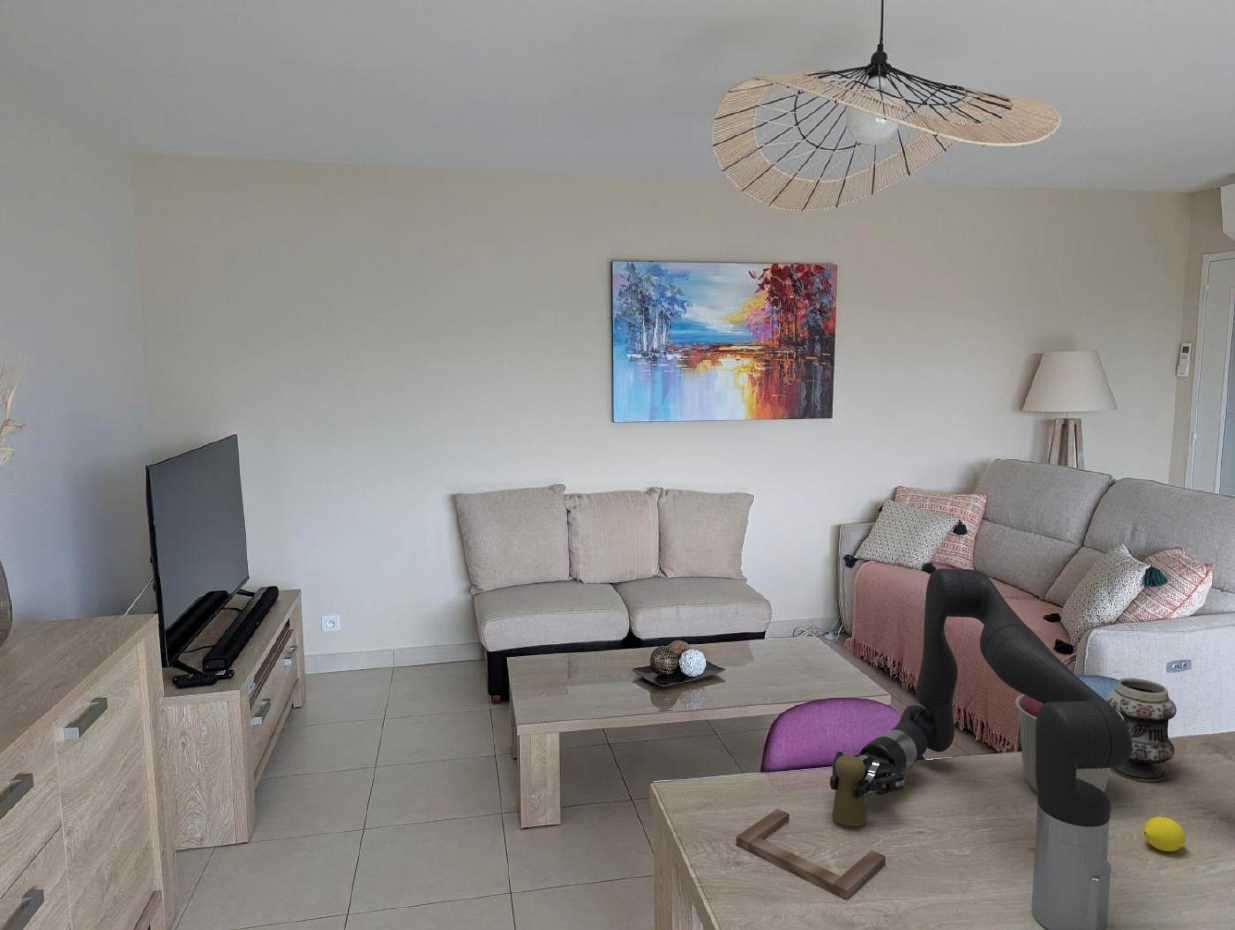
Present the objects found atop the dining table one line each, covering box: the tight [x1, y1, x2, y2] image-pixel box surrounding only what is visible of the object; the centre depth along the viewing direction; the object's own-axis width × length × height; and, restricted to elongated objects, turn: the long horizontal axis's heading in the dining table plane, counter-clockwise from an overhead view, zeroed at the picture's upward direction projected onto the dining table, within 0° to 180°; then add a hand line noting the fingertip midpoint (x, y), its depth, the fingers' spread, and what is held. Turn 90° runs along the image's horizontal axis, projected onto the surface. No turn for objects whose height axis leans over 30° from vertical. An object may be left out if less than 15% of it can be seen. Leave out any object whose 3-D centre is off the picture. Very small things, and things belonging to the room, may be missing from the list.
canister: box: [1015, 693, 1124, 793], centre depth 155 cm, size 18×18×21 cm
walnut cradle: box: [735, 808, 886, 900], centre depth 136 cm, size 21×12×2 cm, turn 45°
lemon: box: [1143, 816, 1186, 853], centre depth 137 cm, size 7×5×5 cm
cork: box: [831, 754, 868, 827], centre depth 145 cm, size 6×6×11 cm
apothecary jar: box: [1106, 677, 1177, 783], centre depth 163 cm, size 12×12×18 cm
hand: (843, 788), depth 143 cm, fingers closed on cork, 3 cm apart
